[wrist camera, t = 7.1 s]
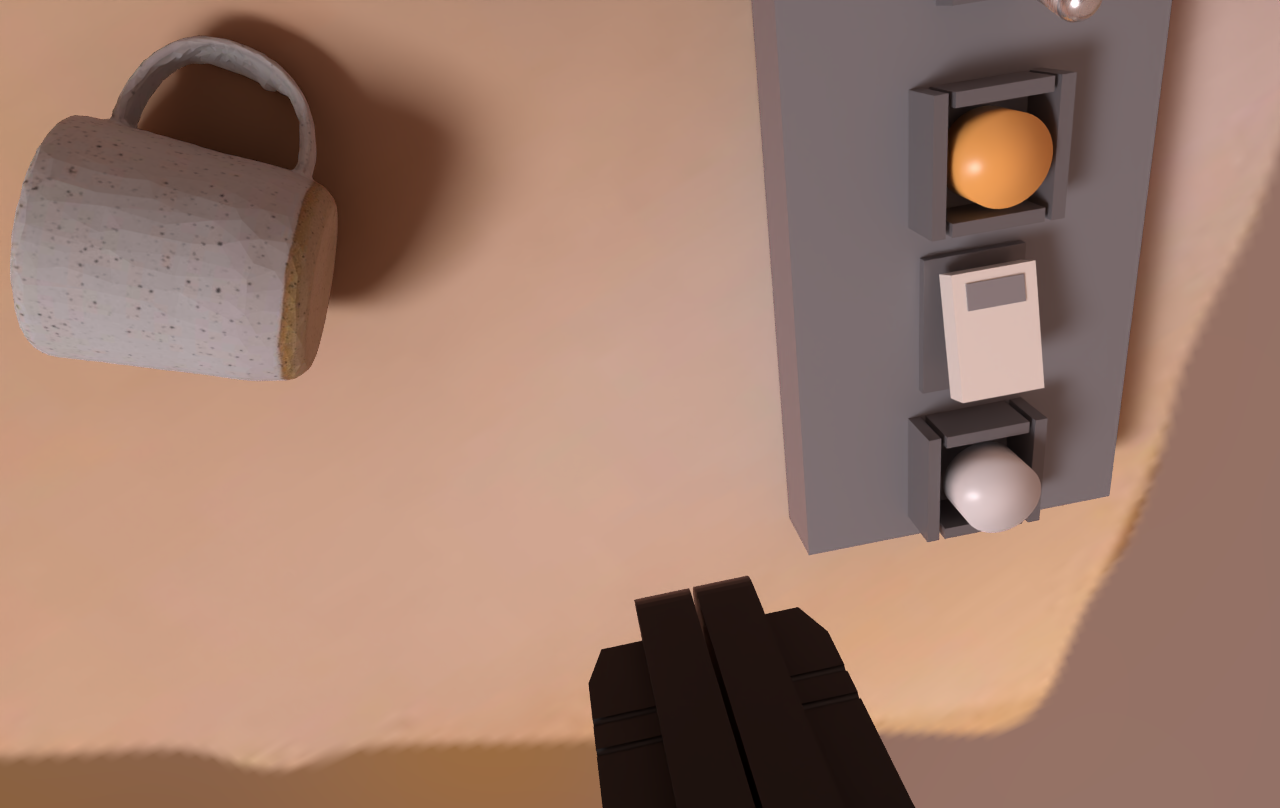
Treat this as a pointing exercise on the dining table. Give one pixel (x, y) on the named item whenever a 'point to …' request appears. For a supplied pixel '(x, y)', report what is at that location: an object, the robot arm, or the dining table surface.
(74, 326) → the ceramic mug
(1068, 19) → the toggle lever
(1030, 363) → the rocker switch
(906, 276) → the control panel
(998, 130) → the orange button
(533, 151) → the dining table surface
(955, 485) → the grey button
